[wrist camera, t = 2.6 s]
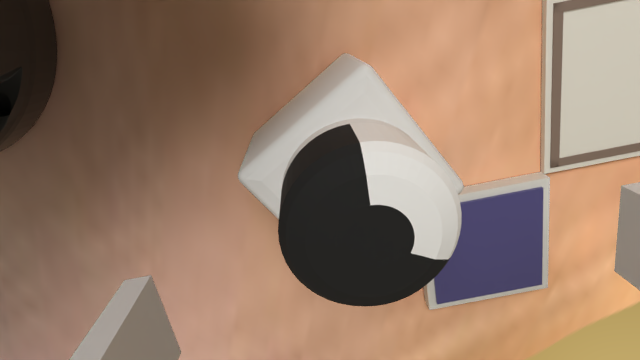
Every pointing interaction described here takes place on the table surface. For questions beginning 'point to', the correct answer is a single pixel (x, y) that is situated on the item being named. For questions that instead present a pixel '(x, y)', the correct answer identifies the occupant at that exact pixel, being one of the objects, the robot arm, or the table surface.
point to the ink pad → (497, 243)
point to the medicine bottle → (355, 189)
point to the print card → (589, 82)
